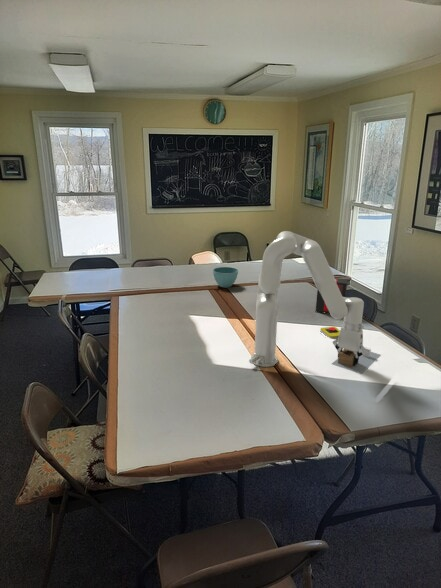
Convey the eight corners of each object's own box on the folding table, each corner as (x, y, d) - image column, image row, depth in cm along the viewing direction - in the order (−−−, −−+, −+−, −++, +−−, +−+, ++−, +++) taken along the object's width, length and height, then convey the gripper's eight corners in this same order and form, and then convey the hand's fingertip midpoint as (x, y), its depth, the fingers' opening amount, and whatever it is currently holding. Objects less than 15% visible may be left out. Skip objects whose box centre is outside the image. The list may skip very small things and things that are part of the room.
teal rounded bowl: (209, 283, 304) (209, 267, 300) (232, 281, 309) (233, 266, 305) (217, 290, 287) (217, 274, 283) (241, 288, 292) (241, 272, 289)
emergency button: (334, 323, 222) (348, 334, 209) (333, 330, 224) (347, 342, 210) (318, 324, 220) (332, 336, 206) (317, 332, 222) (331, 343, 208)
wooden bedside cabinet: (351, 367, 180) (352, 356, 179) (337, 362, 184) (338, 352, 182) (357, 362, 185) (358, 351, 183) (343, 357, 189) (344, 347, 187)
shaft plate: (361, 377, 175) (362, 365, 173) (330, 366, 184) (332, 355, 182) (380, 357, 193) (382, 347, 191) (352, 349, 201) (353, 338, 199)
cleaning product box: (344, 310, 253) (347, 279, 246) (343, 315, 245) (346, 283, 238) (317, 307, 258) (319, 276, 251) (315, 311, 250) (318, 280, 243)
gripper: (374, 328, 176) (369, 365, 182) (337, 318, 187) (333, 353, 192) (368, 333, 171) (363, 371, 176) (329, 322, 181) (326, 359, 187)
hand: (347, 361), depth 184 cm, fingers closed on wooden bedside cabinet, 6 cm apart
